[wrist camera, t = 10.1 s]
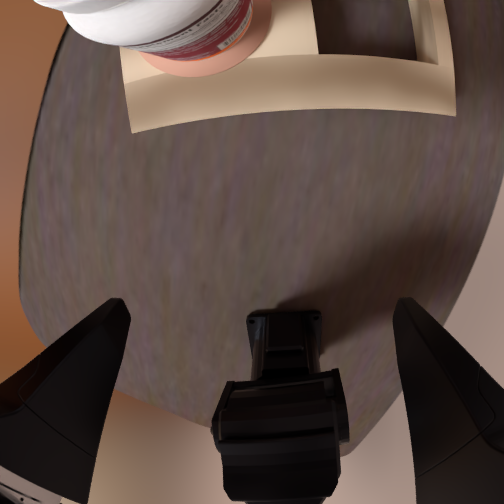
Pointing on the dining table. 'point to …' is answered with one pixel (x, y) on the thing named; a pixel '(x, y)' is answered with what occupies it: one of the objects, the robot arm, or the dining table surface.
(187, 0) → the pill bottle
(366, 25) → the dining table surface
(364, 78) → the board
